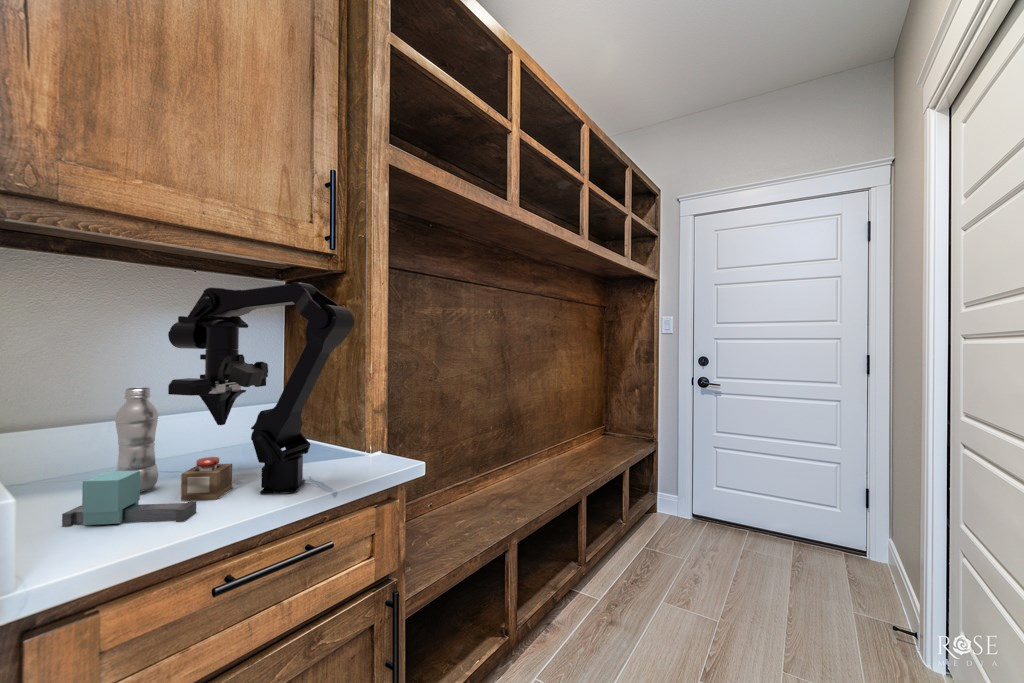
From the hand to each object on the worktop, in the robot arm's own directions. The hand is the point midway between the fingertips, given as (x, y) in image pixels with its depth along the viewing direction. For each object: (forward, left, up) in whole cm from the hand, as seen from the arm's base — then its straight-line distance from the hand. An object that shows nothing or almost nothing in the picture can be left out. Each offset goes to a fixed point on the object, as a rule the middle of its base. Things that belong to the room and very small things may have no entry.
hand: (221, 424), depth 90 cm
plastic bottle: (+13, +4, -12) cm, 18 cm away
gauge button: (-1, +7, -11) cm, 13 cm away
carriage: (+8, +18, -12) cm, 23 cm away
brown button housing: (-1, +7, -12) cm, 14 cm away
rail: (+5, +18, -12) cm, 22 cm away
